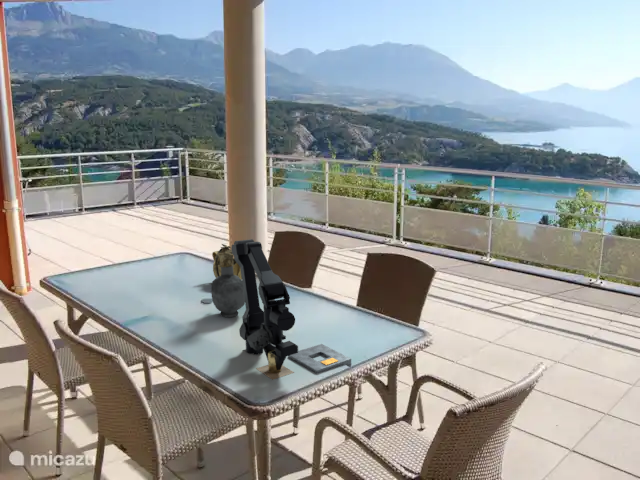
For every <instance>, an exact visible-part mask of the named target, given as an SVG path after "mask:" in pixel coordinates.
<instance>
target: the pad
mask: <svg viewBox="0 0 640 480" xmlns="http://www.w3.org/2000/svg"><path fill="white" fill-rule="evenodd" d="M255 369H256V370H257V371H259V372H260V373H262V374H263V375H265V376H266V377H268V378H269V379H271V381H273V380H276V379H279V378H283V377H285V376H288V375H291V374H294V373H295V372H294V371H293V370H291V369H290V368H288V367H286V366H285V365H284V364H283V365H282V367H281V372H279V373H270V372H269V369H268V364H267V365H266V364H265V365H263V366H259V367H257V368H255Z"/></svg>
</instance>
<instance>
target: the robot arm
mask: <svg viewBox="0 0 640 480" xmlns="http://www.w3.org/2000/svg"><path fill="white" fill-rule="evenodd" d="M230 247H231V248H230V250H232V254H233V258H234V260H235V261H236V262H237V263H238V265H239V266H240V269H241V276H242V283H243V290H244V298H245V304H244V305H245V311H244V313H243V316H242V322H241V323H242V324H241V325H240V328H239V336H240V337H241V338H242V340H244V341H245V349H243V350H242V352H244V351H245V352H246V353H247V354H251V355H252V354H253V355H256V356H257V355H261V354H263V353H264V354H265V356H266V360H267V361H268V352H269V351H271V350H275V351H272V352H271V353H272V354H273V355H274V356H275V362H276V368H277V370H280V369H281V367H282V365H283V366H284V363H285V360H286V358H287V357H288V356H289V355H292V354H296V353H298V351H299V345H298V344H297V343H294V342H292V341H291V340H288V341H285V340H287V339H286V338H287V336H286V335H284V331H285V332H286V331H290V330H291V329H292V328H293V327H294V326H295V324H296V318H295V315H294V314H293V313H292V312H291V311H290V310H289V309H290V308H289V307H287V305H290V304H291V302H290V299H291V297H290V295H289V292H288V289H287V287H286V285H285V283H284V282H283V280H282V279H281V278H280V276H279V275H278V274H276V273H275V272H273V270H272V268H271V266H270V263H269V262H268V259H267V258H266V255H265V253H264V250H263V245H262V243H261V242H260V241H254V239H253V238H252V239H251V238H249V239H243V240H242V239H241V240H235V241H233V244H232V245H231V246H230ZM256 277H257V278H258V282H259V283H257V278H256ZM259 298H260V299H259ZM260 300H261V303H262V305H263V309H262V308H261V305H260ZM283 341H284V342H283Z"/></svg>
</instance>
